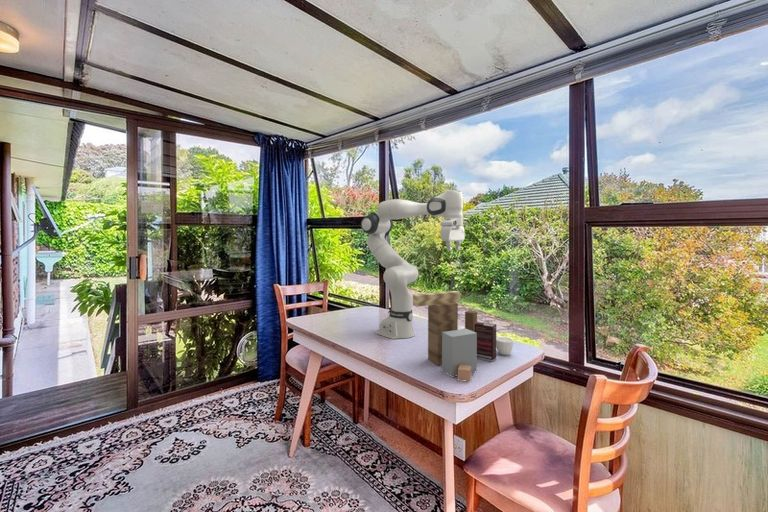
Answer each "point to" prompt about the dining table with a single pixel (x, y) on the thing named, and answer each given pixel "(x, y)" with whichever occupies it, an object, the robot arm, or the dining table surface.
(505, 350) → the cup
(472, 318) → the wooden block
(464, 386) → the dining table surface
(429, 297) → the oak bar
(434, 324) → the walnut stand
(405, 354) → the dining table surface
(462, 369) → the clay cube
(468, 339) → the grey step block
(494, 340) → the supplement box
